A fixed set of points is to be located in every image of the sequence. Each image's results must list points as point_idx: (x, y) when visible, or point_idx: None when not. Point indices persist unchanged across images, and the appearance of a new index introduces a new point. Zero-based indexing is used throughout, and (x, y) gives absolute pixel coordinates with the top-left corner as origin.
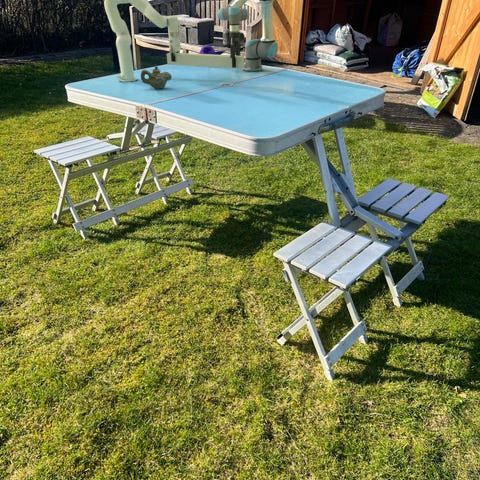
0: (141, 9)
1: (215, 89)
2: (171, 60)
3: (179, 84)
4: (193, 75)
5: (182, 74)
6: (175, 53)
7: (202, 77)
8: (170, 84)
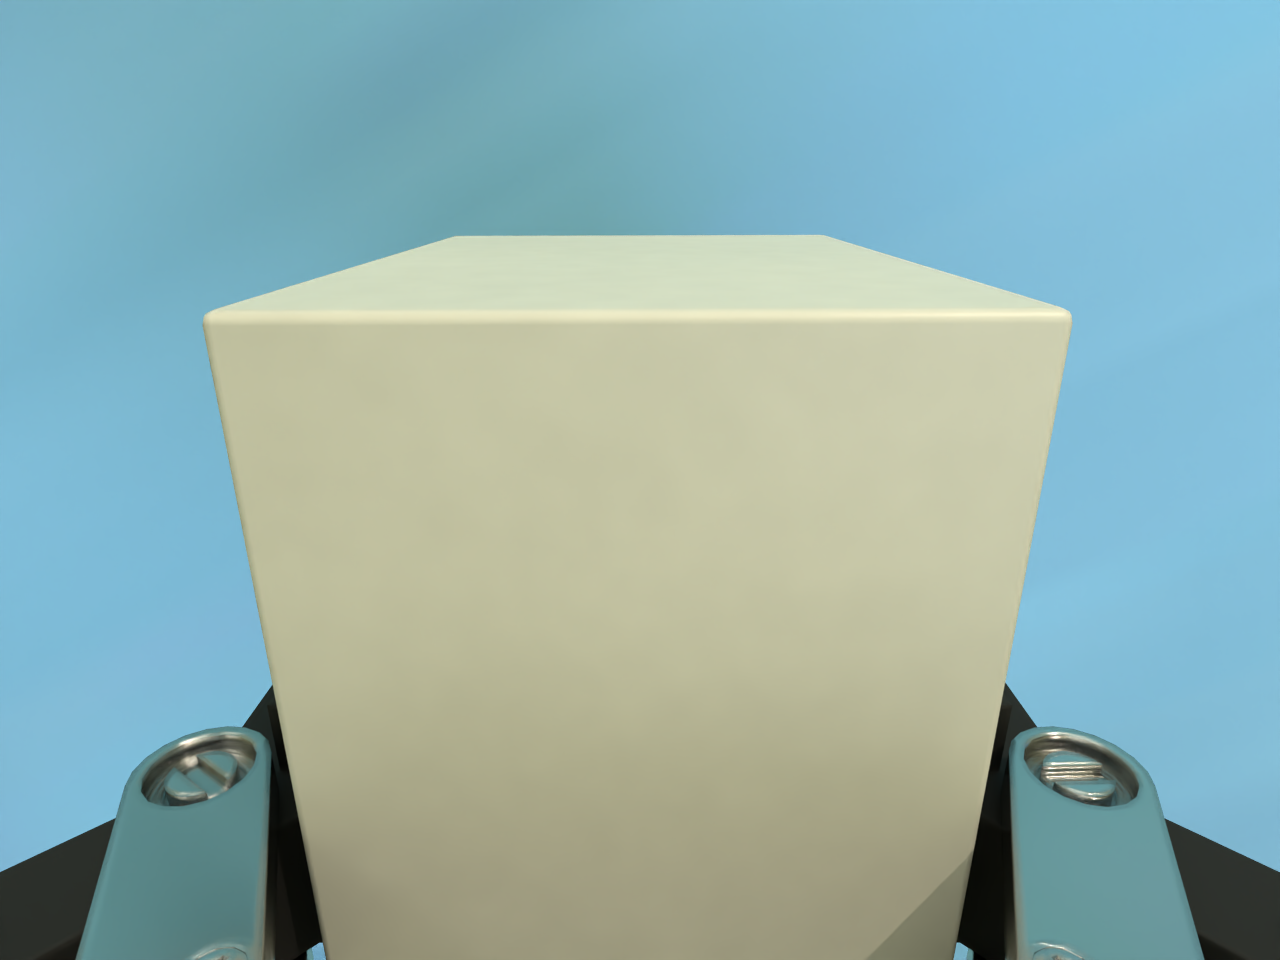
0: None
1: None
2: None
3: (123, 723)
4: (1117, 586)
5: (1246, 255)
6: (651, 948)
7: None
8: (23, 561)
